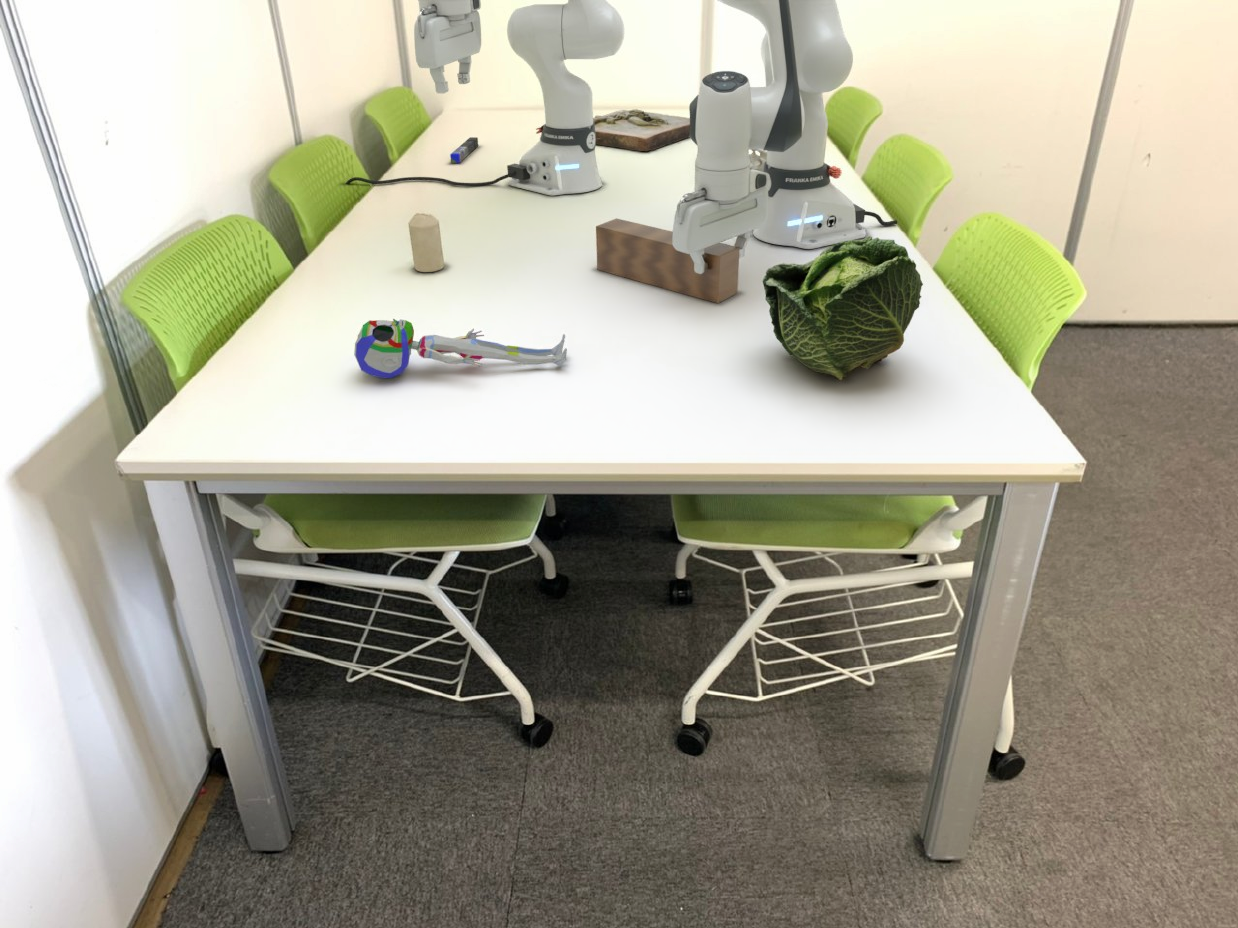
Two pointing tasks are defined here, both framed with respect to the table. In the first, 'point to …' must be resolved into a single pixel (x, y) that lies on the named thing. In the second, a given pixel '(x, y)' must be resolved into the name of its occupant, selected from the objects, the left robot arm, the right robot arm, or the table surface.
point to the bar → (665, 261)
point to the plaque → (640, 129)
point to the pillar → (464, 150)
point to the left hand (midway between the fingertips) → (453, 88)
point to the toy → (435, 349)
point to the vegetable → (844, 304)
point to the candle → (426, 243)
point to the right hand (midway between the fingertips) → (719, 264)
